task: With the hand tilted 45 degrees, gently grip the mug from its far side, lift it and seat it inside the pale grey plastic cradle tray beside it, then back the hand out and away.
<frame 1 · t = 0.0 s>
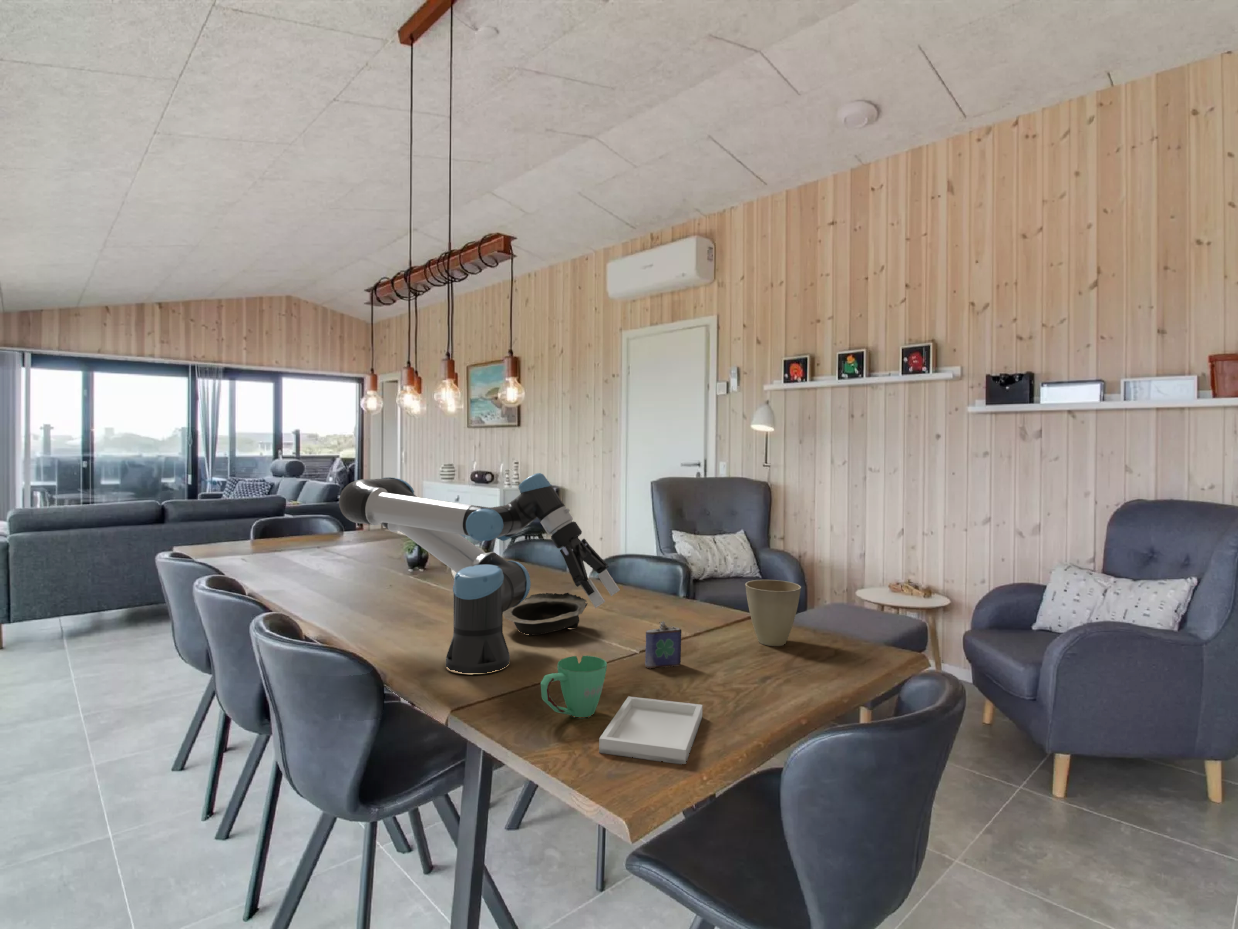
hand: (608, 598, 160), 15 cm above the table, tool tilted 35°, fingers open, 13 cm apart
flask: (662, 666, 156), on the table
mug: (572, 717, 125), on the table
cradle tray: (654, 734, 118), on the table
stone bowl: (544, 632, 185), on the table
plant pot: (772, 643, 176), on the table
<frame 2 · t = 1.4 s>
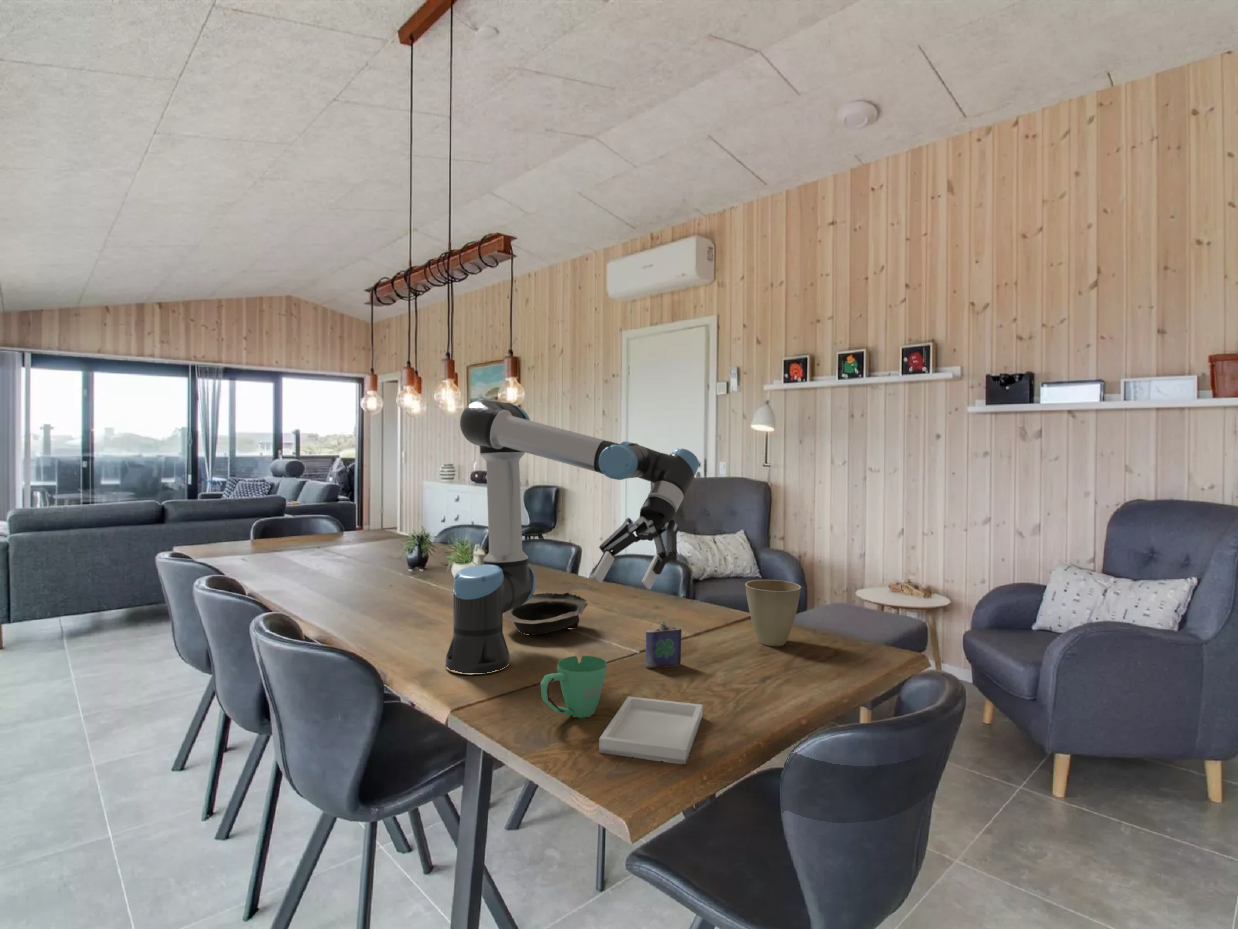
hand: (620, 582, 135), 24 cm above the table, tool tilted 45°, fingers open, 13 cm apart
nothing on the table moved.
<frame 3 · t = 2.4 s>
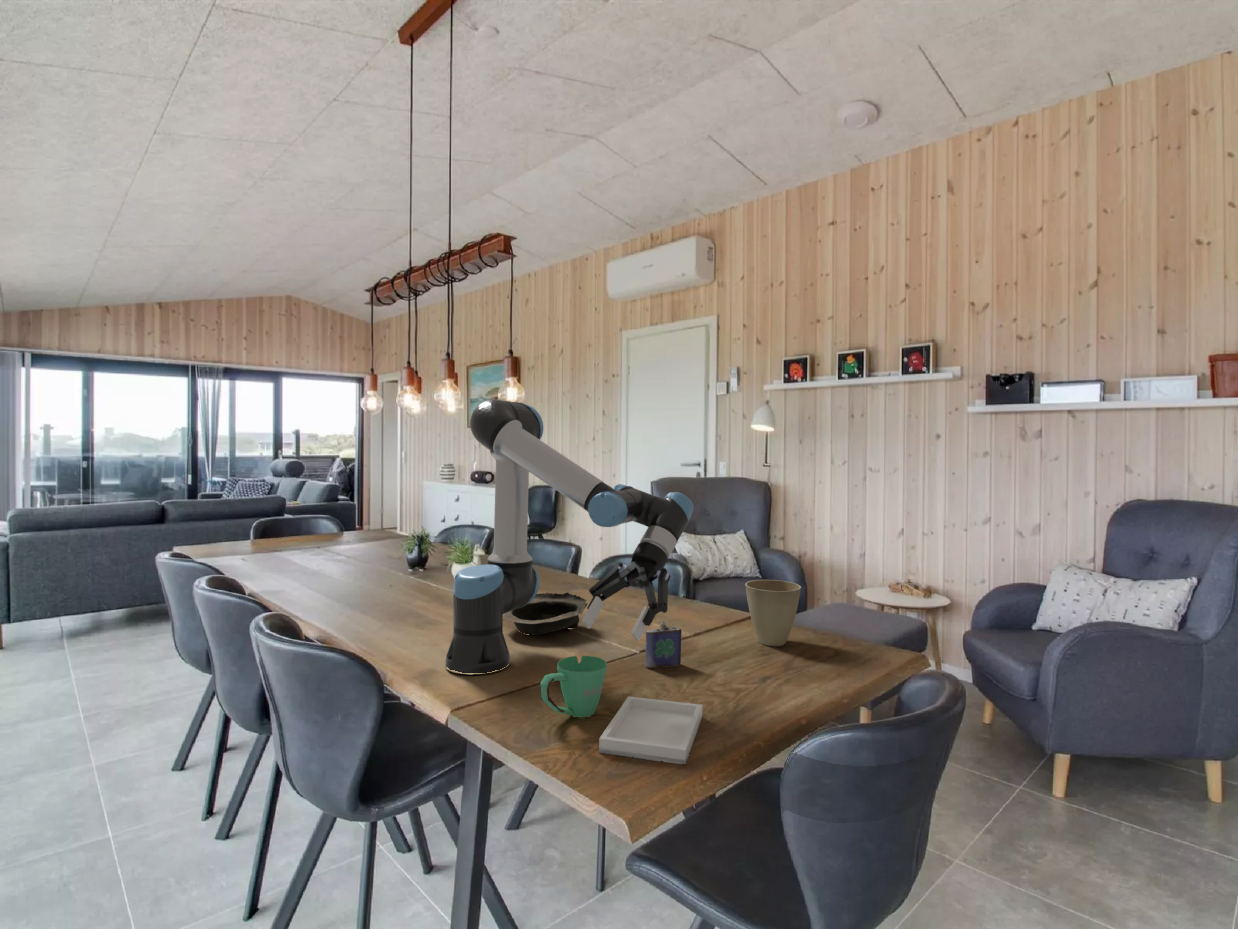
hand: (609, 630, 133), 15 cm above the table, tool tilted 45°, fingers open, 13 cm apart
nothing on the table moved.
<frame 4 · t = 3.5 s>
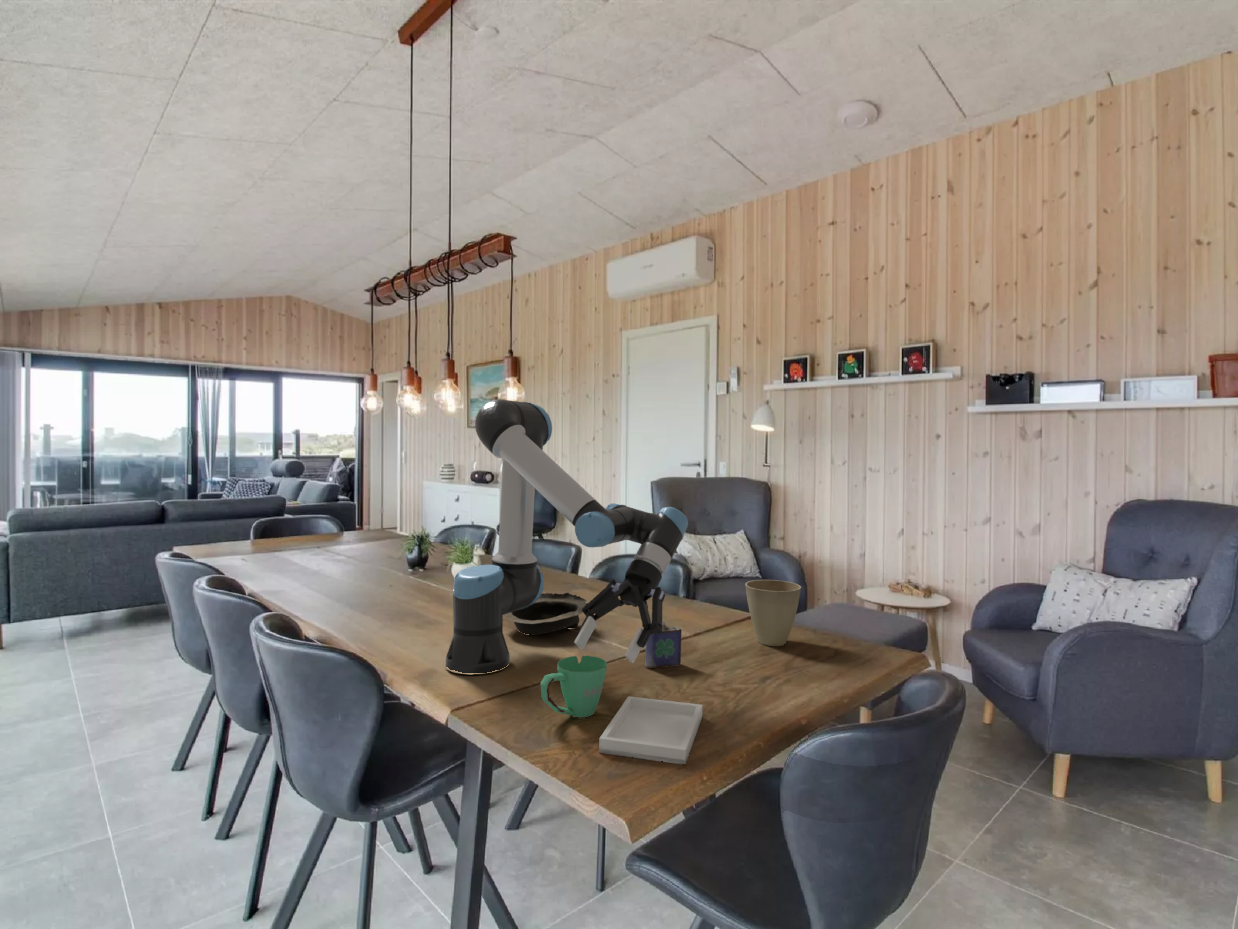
hand: (602, 652, 129), 11 cm above the table, tool tilted 45°, fingers open, 13 cm apart
nothing on the table moved.
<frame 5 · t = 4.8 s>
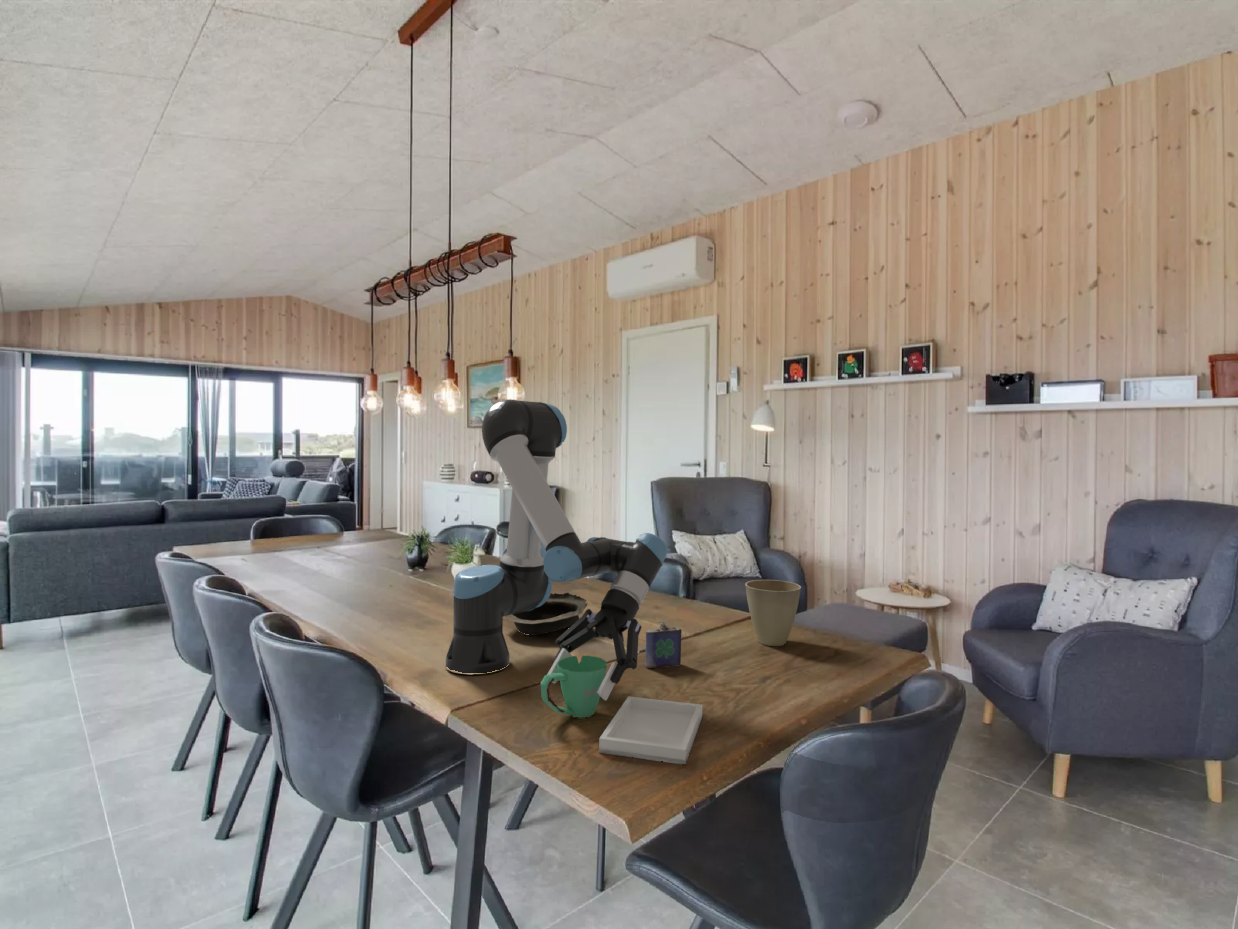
hand: (575, 688, 124), 6 cm above the table, tool tilted 45°, fingers open, 13 cm apart
nothing on the table moved.
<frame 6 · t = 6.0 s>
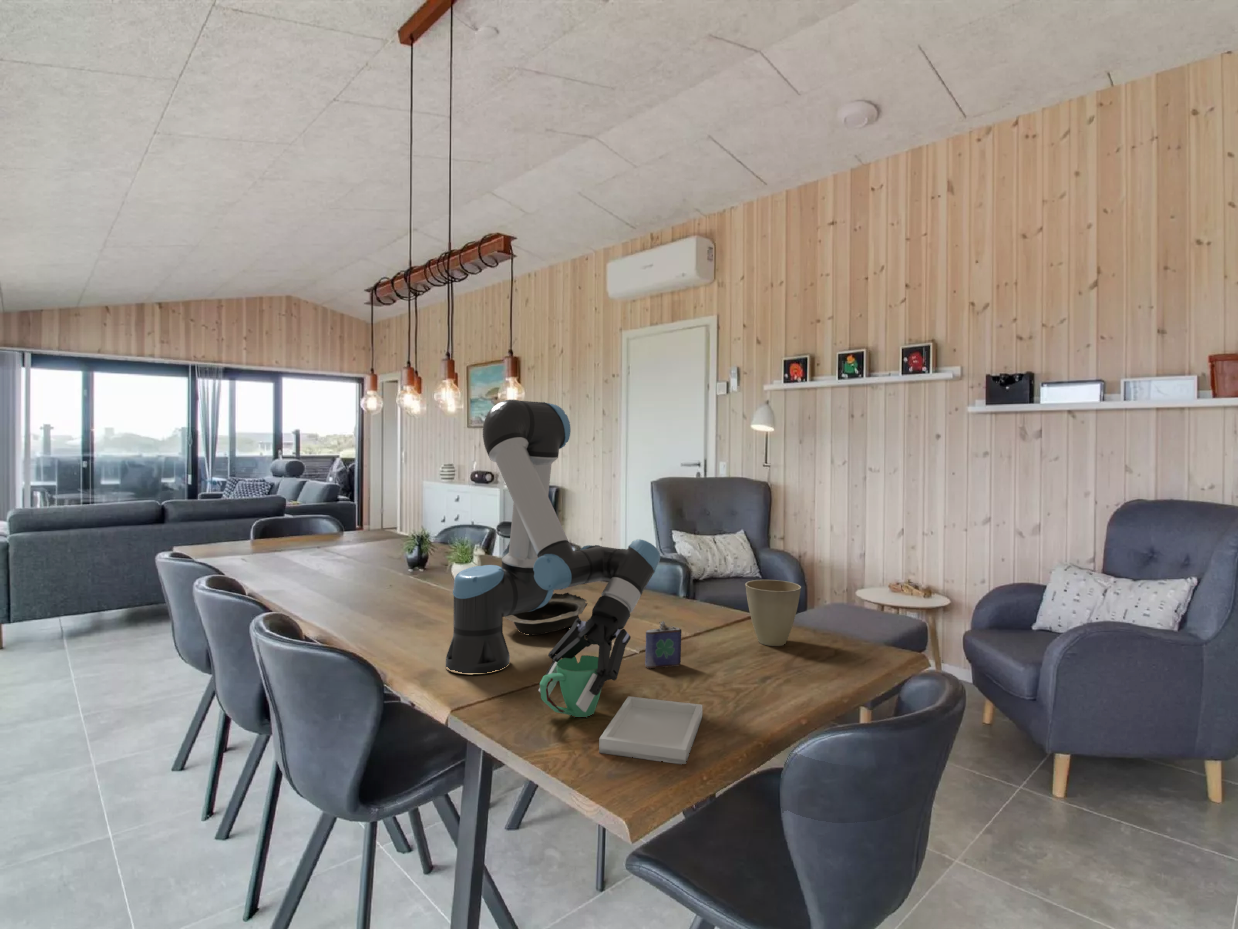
hand: (561, 701, 122), 4 cm above the table, tool tilted 45°, fingers closed on mug, 10 cm apart
mug: (572, 717, 125), on the table, touching gripper
everything else where it was.
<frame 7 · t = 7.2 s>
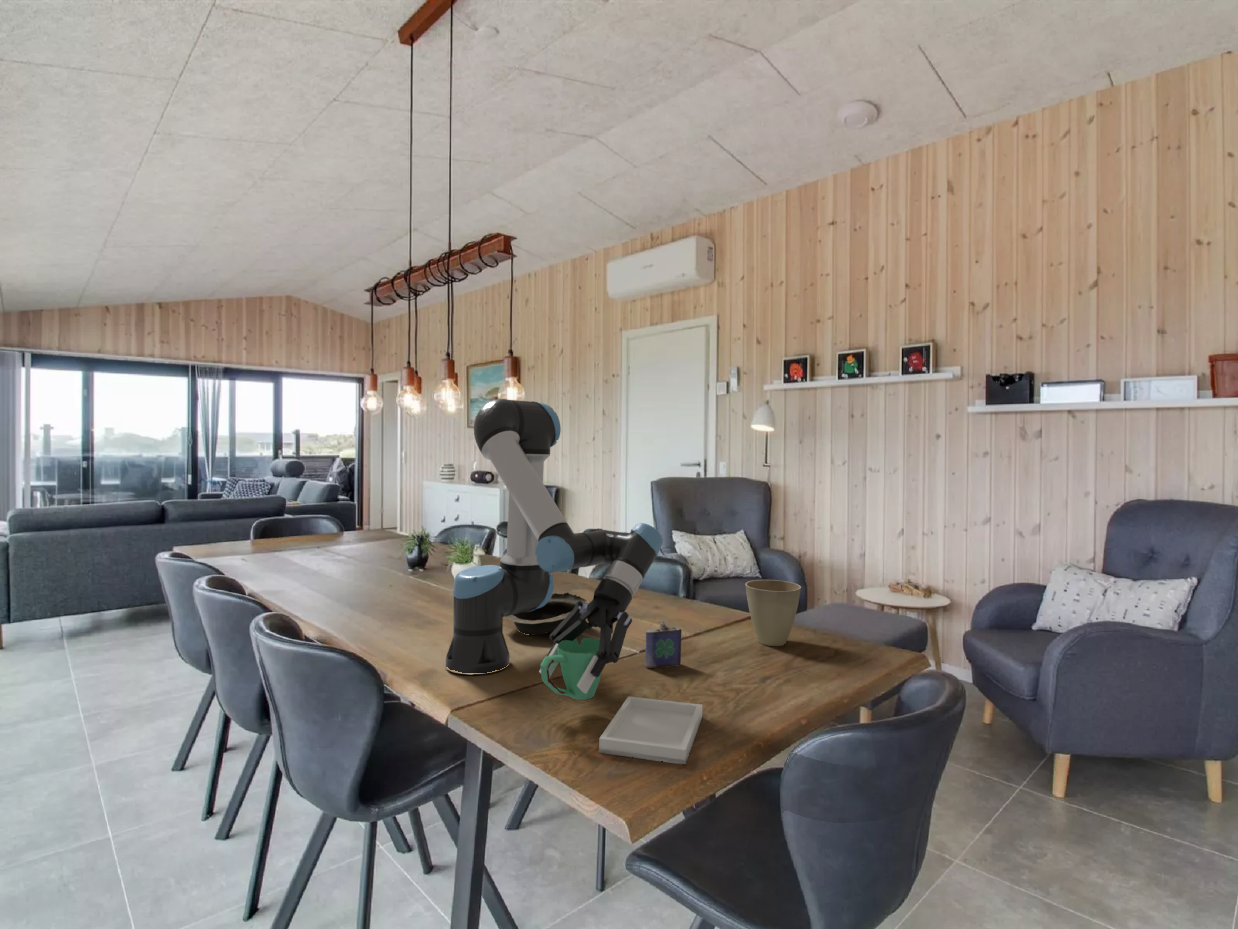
hand: (561, 682, 122), 8 cm above the table, tool tilted 45°, fingers closed on mug, 10 cm apart
mug: (572, 699, 125), point 3 cm above the table, touching gripper
everything else where it was.
when the fingers open (6 cm above the table, at t = 11.3 s): mug drops 1 cm, resting on cradle tray.
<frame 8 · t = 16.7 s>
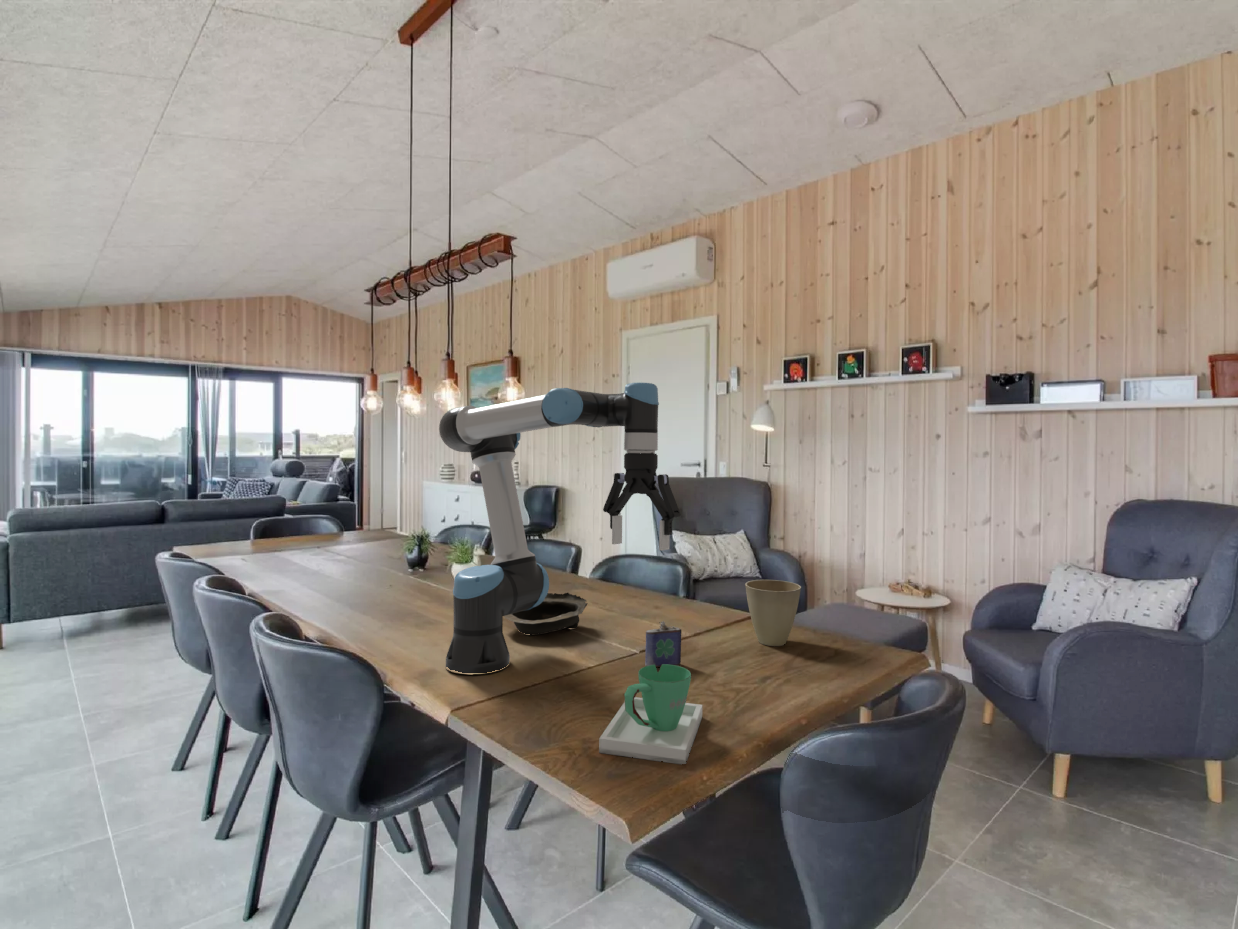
hand: (639, 546, 144), 31 cm above the table, tool pointing down, fingers open, 13 cm apart
mug: (655, 730, 118), point 1 cm above the table, touching cradle tray
everything else where it was.
at the end: mug 0.2 cm off-centre on the cradle tray, point 0.6 cm above the cradle tray's base; mug tilted 0°; the gripper is holding nothing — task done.
